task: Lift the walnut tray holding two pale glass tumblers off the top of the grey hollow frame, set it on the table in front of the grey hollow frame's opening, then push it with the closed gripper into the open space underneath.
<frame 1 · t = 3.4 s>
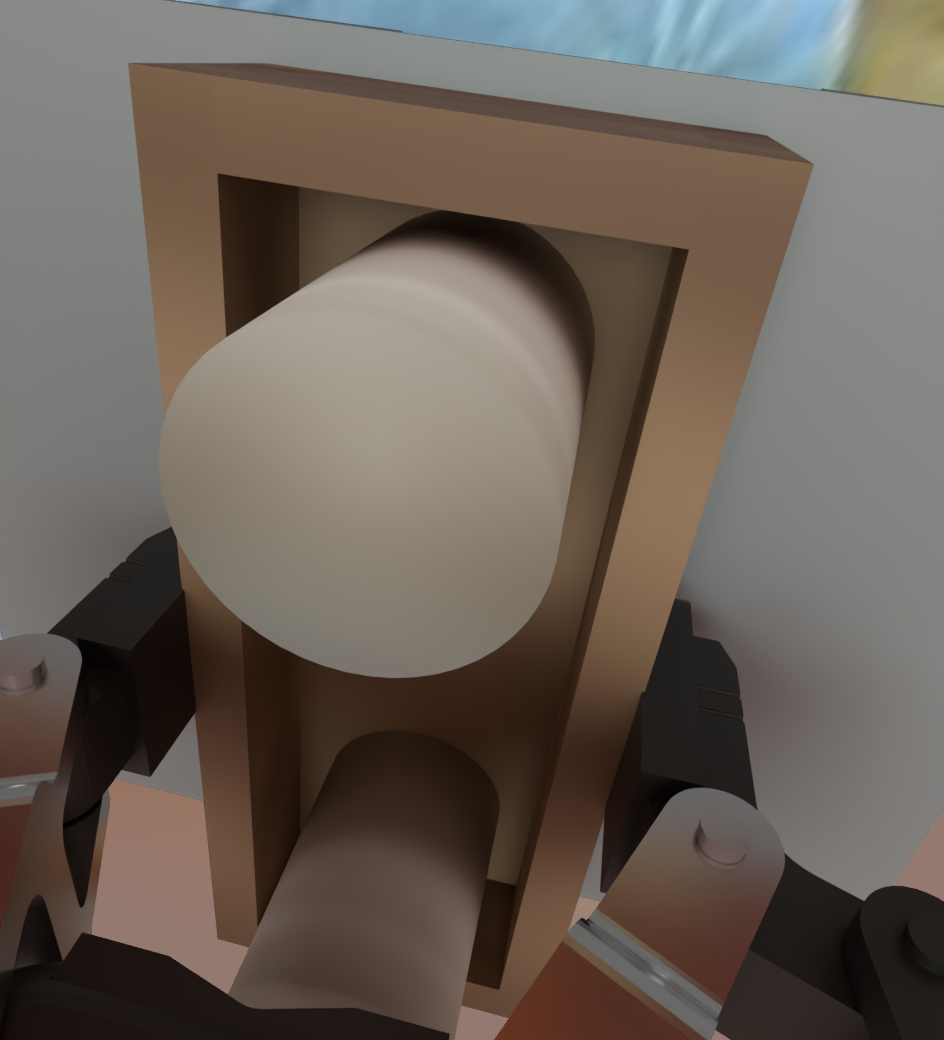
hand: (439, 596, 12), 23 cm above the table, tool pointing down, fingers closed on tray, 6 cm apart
grey hollow frame: (567, 272, 31), on the table
tray: (449, 575, 13), point 22 cm above the table, touching grey hollow frame, gripper
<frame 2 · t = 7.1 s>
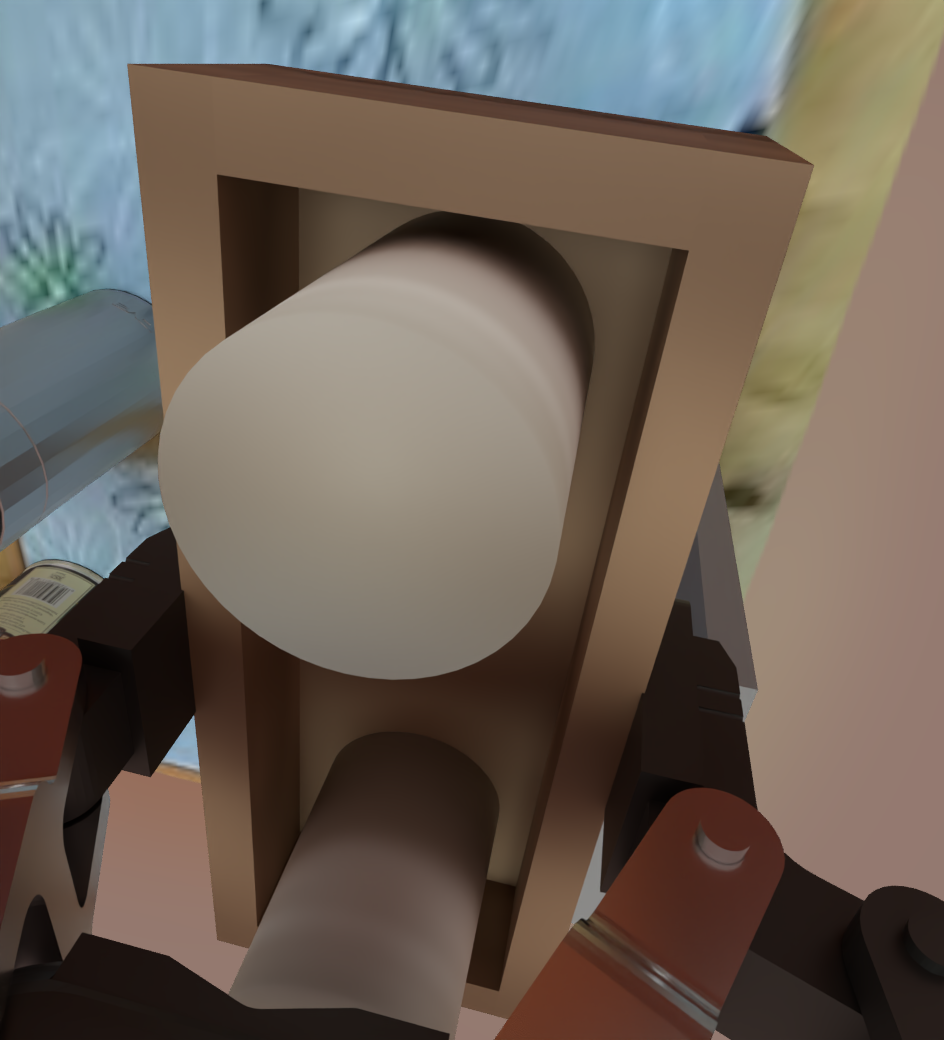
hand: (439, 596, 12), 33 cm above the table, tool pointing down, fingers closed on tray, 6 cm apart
grey hollow frame: (536, 505, 49), on the table
tray: (448, 576, 13), point 32 cm above the table, touching gripper
coffee can: (80, 611, 62), on the table
when the fingers open (2 cm above the table, at t = 11.1 s): tray drops 1 cm, on the table.
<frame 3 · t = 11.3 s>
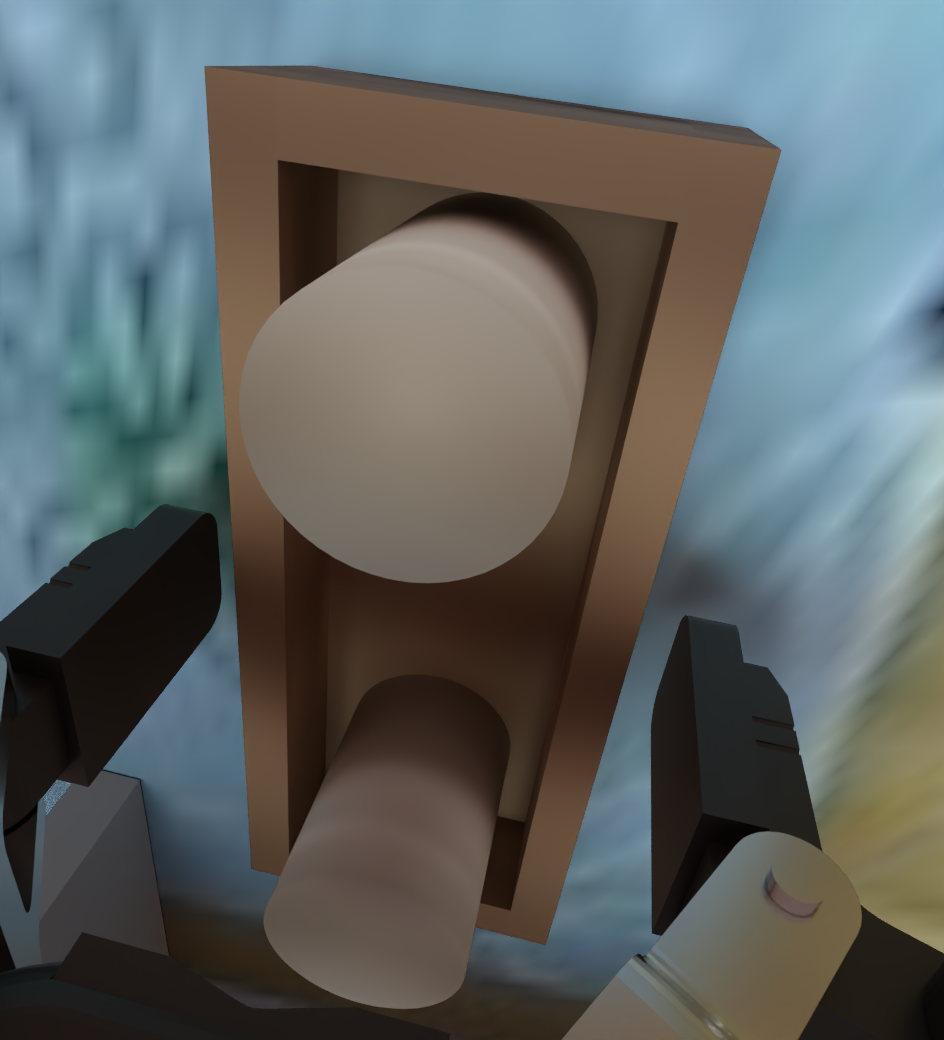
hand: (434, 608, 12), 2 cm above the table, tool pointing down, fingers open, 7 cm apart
grey hollow frame: (402, 1007, 23), on the table
tray: (464, 531, 14), on the table
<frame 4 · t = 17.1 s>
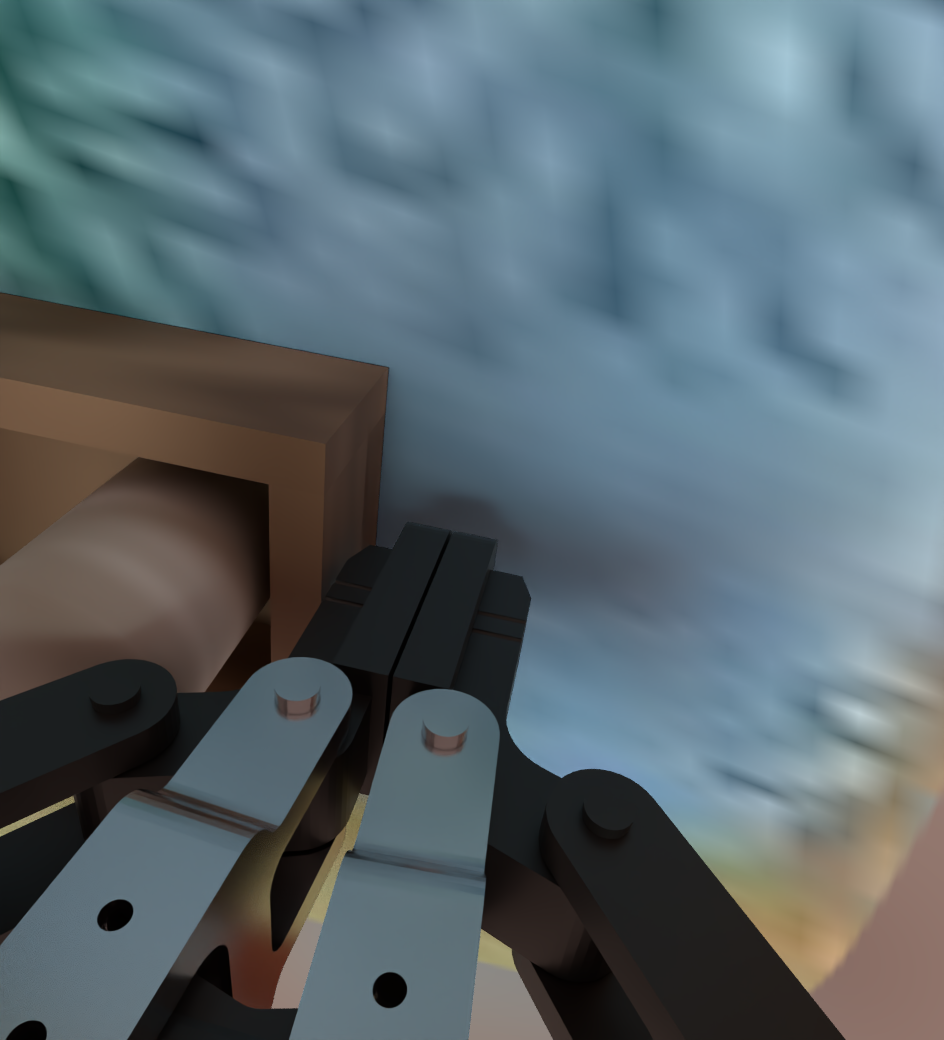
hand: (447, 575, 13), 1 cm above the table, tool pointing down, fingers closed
tray: (28, 446, 15), on the table, touching gripper
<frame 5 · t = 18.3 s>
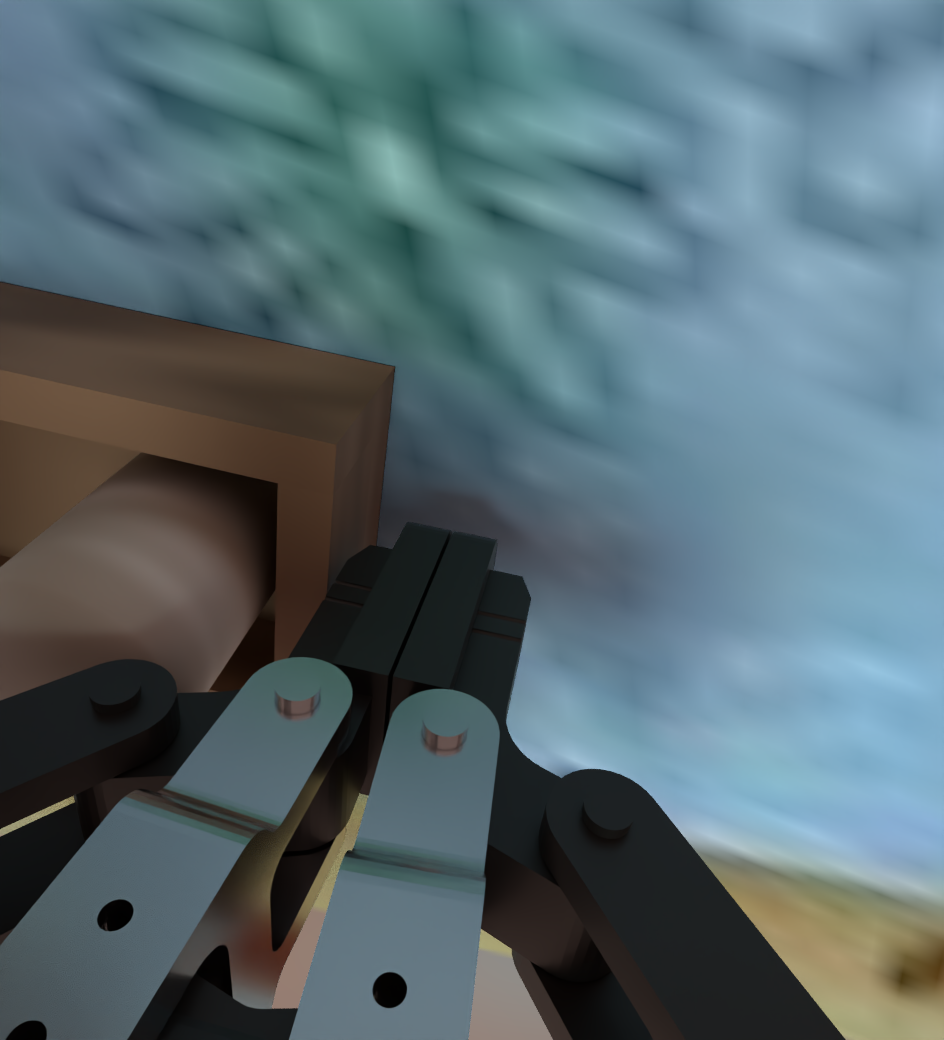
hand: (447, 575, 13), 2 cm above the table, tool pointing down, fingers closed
tray: (28, 437, 15), on the table, touching gripper
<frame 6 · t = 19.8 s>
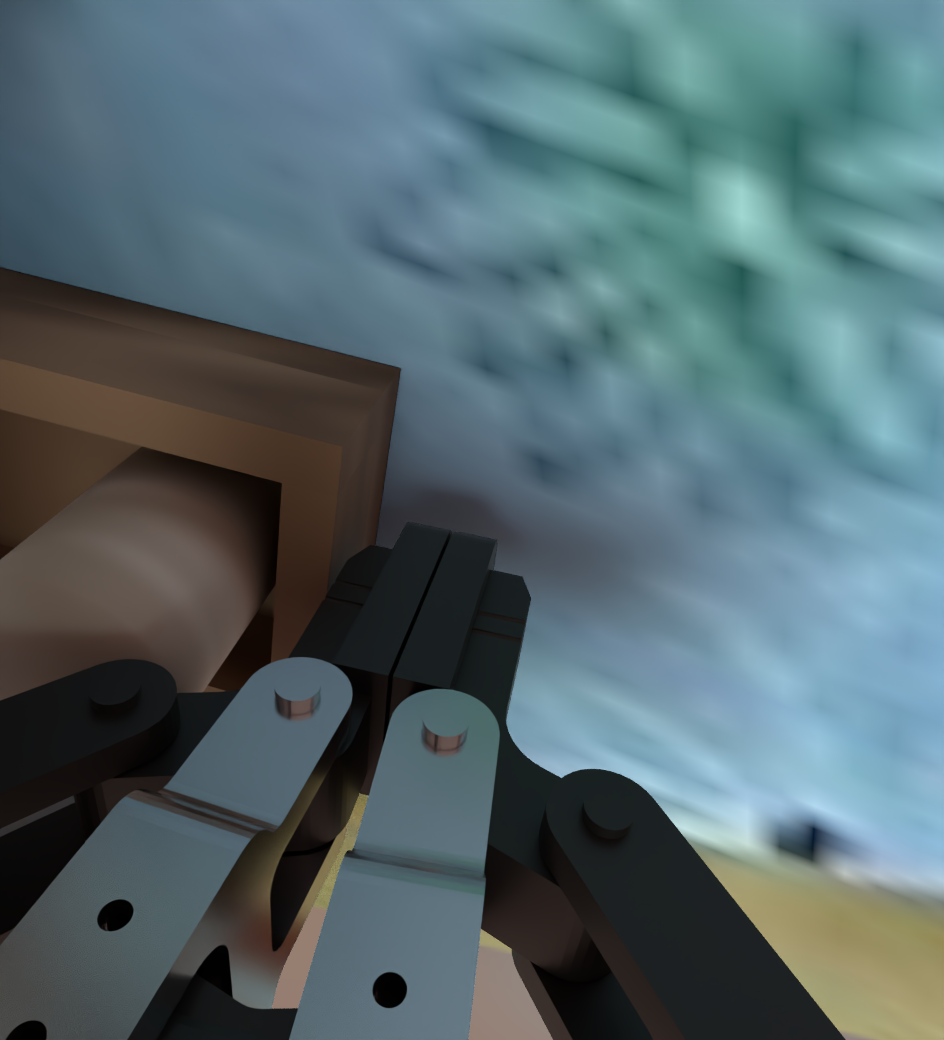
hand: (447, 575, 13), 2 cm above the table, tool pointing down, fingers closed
tray: (27, 425, 15), on the table, touching gripper
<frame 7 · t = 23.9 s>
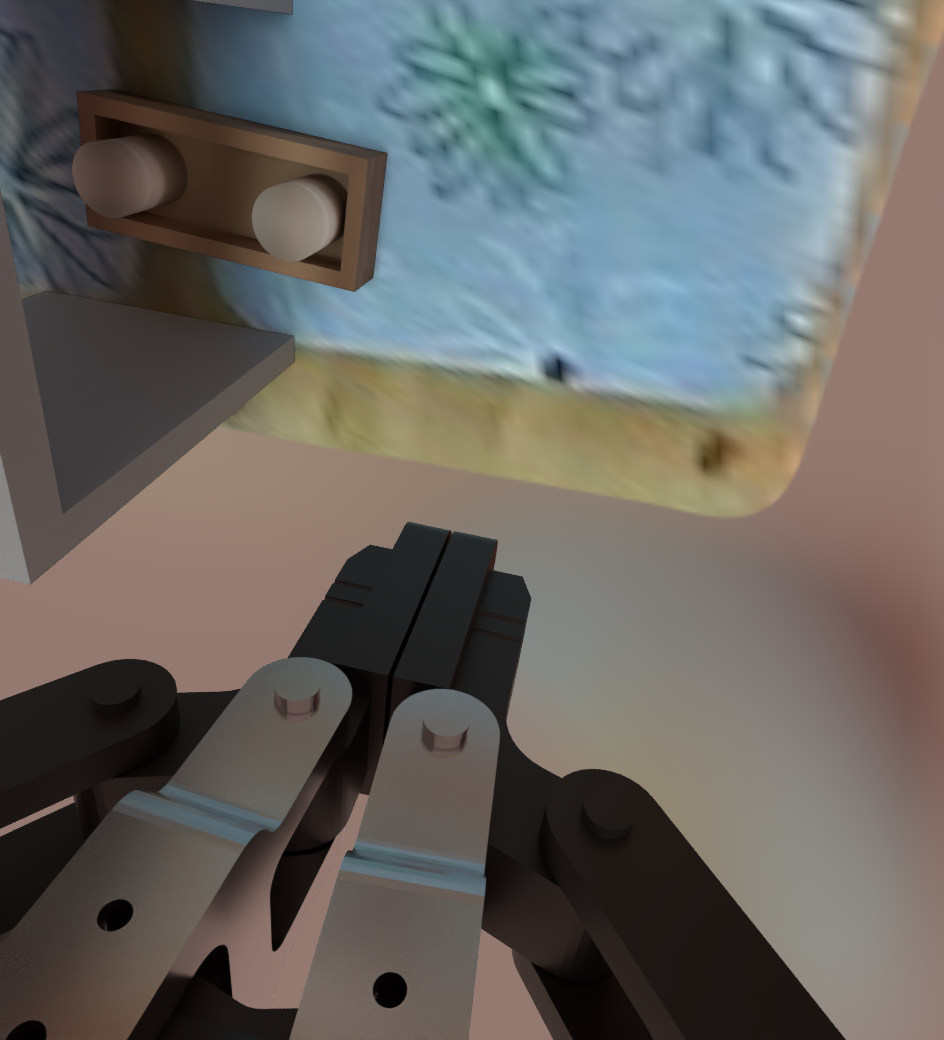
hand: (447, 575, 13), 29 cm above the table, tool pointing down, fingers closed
grey hollow frame: (154, 168, 40), on the table
tray: (247, 186, 39), on the table
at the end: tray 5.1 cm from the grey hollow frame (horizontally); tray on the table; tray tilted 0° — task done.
